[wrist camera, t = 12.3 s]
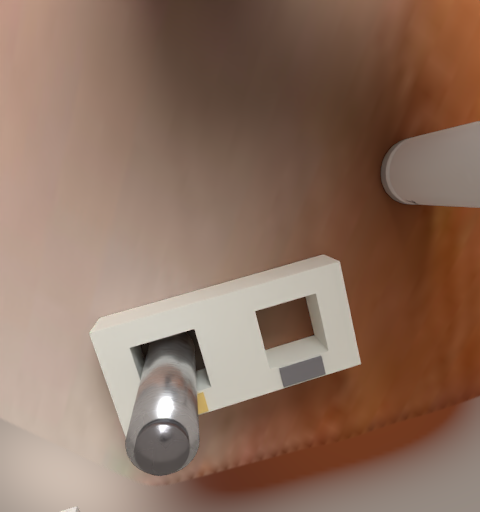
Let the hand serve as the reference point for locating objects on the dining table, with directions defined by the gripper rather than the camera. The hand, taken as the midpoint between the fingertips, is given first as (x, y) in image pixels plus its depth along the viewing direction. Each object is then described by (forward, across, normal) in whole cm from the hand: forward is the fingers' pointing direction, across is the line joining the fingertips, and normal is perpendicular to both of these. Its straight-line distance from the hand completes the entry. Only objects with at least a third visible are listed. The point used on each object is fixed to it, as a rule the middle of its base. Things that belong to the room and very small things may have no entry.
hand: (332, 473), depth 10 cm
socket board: (+27, -2, -7) cm, 27 cm away
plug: (+26, -7, -7) cm, 28 cm away
